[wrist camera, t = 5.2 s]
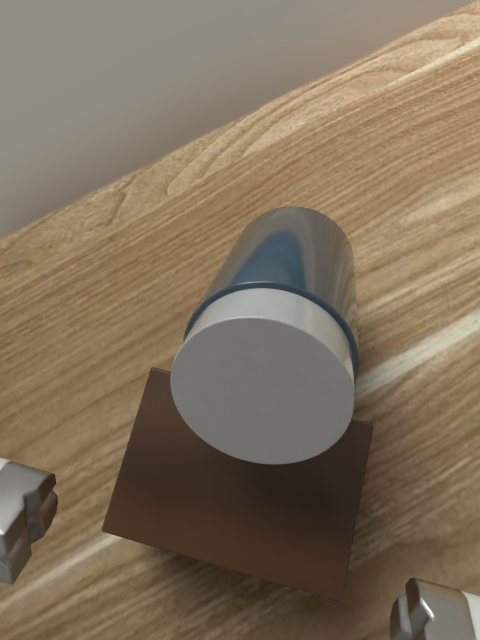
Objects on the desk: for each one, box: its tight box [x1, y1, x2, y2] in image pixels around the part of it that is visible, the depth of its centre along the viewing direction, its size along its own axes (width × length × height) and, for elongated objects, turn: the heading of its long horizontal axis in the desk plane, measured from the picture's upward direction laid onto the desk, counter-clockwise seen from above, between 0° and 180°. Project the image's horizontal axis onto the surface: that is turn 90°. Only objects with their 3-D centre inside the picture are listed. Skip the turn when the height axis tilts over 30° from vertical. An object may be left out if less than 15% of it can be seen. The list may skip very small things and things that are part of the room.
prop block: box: [102, 368, 373, 602], centre depth 21 cm, size 7×10×5 cm
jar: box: [170, 207, 360, 465], centre depth 19 cm, size 12×6×12 cm, turn 165°
